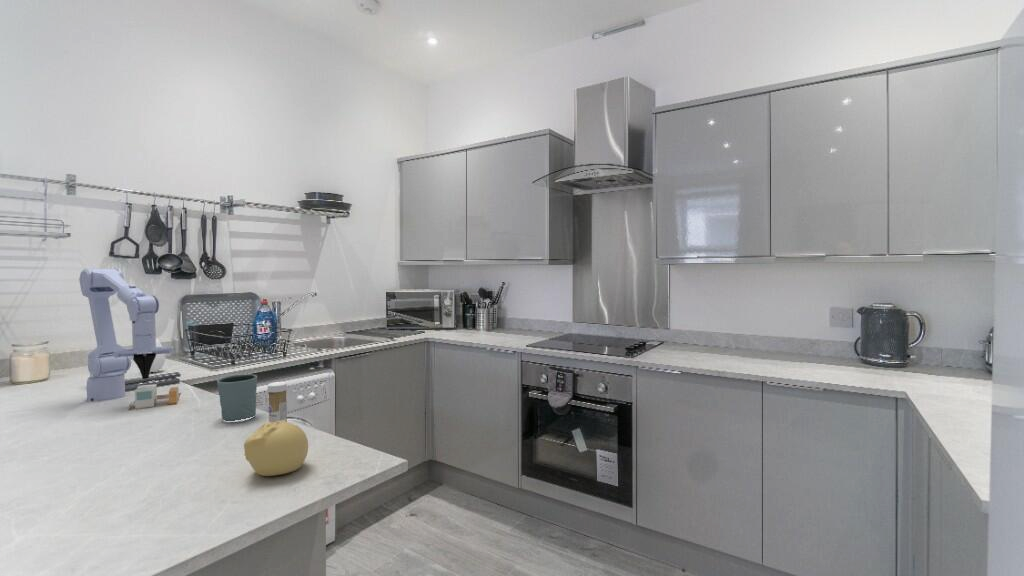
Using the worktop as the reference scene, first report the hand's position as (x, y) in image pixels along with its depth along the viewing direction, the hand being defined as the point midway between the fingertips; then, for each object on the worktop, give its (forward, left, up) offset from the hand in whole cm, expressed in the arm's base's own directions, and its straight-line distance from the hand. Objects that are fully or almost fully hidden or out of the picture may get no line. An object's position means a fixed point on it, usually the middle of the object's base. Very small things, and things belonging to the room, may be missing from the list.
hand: (145, 378), depth 147 cm
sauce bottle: (-6, +65, -10) cm, 66 cm away
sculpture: (+31, -70, -10) cm, 78 cm away
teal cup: (+24, -24, -10) cm, 36 cm away
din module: (0, 0, -8) cm, 8 cm away
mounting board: (+2, +4, -10) cm, 11 cm away
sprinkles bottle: (+33, -44, -10) cm, 57 cm away
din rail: (+2, 0, -8) cm, 9 cm away
